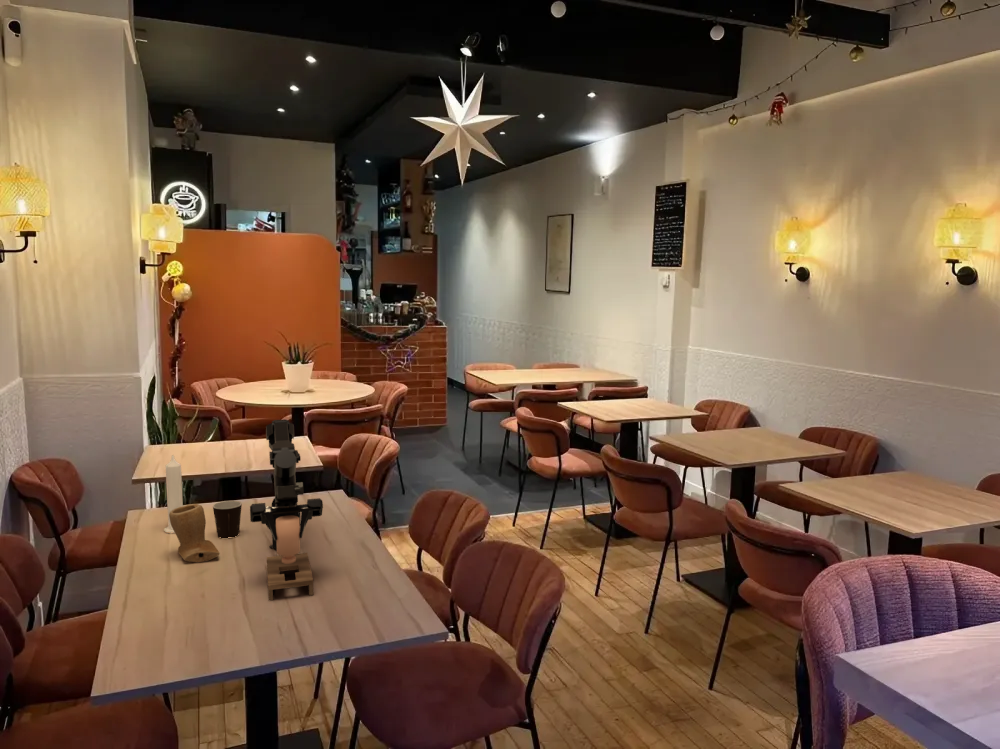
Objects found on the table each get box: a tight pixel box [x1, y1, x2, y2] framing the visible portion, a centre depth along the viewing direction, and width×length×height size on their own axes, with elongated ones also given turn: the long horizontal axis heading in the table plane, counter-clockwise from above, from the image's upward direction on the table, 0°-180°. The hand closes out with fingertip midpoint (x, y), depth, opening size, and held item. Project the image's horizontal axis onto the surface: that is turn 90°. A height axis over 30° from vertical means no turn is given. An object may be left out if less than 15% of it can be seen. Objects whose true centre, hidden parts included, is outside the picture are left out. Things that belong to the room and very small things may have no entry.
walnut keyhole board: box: [266, 552, 314, 601], centre depth 191 cm, size 20×11×4 cm, turn 19°
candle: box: [163, 454, 184, 533], centre depth 229 cm, size 7×7×25 cm
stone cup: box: [169, 503, 220, 563], centre depth 209 cm, size 15×12×15 cm
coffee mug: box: [212, 500, 242, 539], centre depth 225 cm, size 12×9×10 cm
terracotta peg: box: [276, 515, 301, 564], centre depth 189 cm, size 6×6×12 cm
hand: (288, 539), depth 188 cm, fingers closed on terracotta peg, 6 cm apart
